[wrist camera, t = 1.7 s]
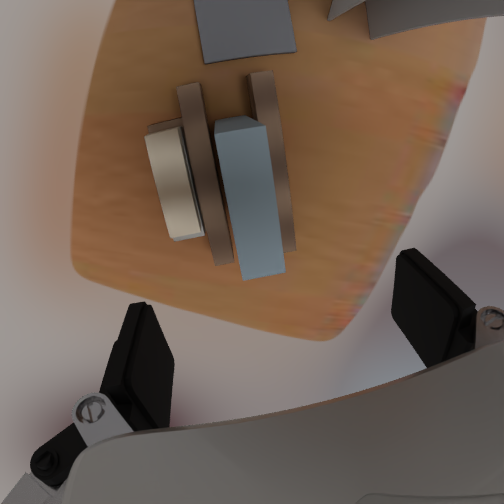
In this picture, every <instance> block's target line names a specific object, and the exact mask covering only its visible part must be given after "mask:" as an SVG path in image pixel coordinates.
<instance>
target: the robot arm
mask: <svg viewBox="0 0 504 504" xmlns="http://www.w3.org/2000/svg"><path fill="white" fill-rule="evenodd" d="M475 306H476V304H475V303H474V302H473V301H472V300H471V299H470V298H469V297H468V296H467V295H466V294H465V293H464V292H463V291H462V290H461V289H460V288H459V287H458V286H457V285H455V284H454V283H453V282H452V281H451V280H450V279H449V278H448V277H447V276H446V275H445V274H444V273H443V272H442V271H440V270H439V269H438V268H437V267H436V266H435V265H434V264H433V263H432V262H430V261H429V260H428V259H427V258H426V257H425V256H424V255H423V254H421V253H420V252H419V251H418V250H417V249H415V248H412V249H407V250H402V251H401V252H400V254H399V255H398V256H397V258H396V269H395V281H394V290H393V299H392V308H391V314H392V317H393V319H394V321H395V322H396V323H397V325H398V326H399V328H400V329H401V331H402V332H403V333H404V335H405V336H406V338H407V339H408V340H409V342H410V344H411V345H412V346H413V348H414V349H415V351H416V352H417V354H418V355H419V357H420V358H421V360H422V361H423V363H424V364H425V366H426V367H427V368H426V369H424V370H421V371H419V372H416V373H413V374H410V375H408V376H405V377H402V378H399V379H396V380H394V381H391V382H388V383H385V384H382V385H378V386H375V387H372V388H369V389H366V390H363V391H359V392H356V393H352V394H349V395H345V396H342V397H338V398H334V399H331V400H327V401H323V402H319V403H315V404H311V405H306V406H302V407H298V408H294V409H289V410H284V411H279V412H274V413H269V414H264V415H258V416H253V417H247V418H241V419H234V420H227V421H220V422H212V423H205V424H197V425H188V426H179V427H169V424H170V409H171V397H172V386H173V374H174V358H173V355H172V353H171V350H170V348H169V346H168V344H167V341H166V339H165V337H164V334H163V332H162V330H161V327H160V325H159V322H158V320H157V318H156V315H155V313H154V310H153V308H152V306H151V305H147V304H146V303H145V302H139V303H132V304H130V305H129V307H128V310H127V313H126V316H125V319H124V322H123V325H122V328H121V331H120V334H119V337H118V340H117V341H116V342H115V343H114V345H113V348H112V352H111V354H110V358H109V361H108V364H107V367H106V370H105V374H104V377H103V381H102V384H101V387H100V391H99V393H90V394H87V395H85V396H83V397H82V398H80V399H79V400H78V401H77V403H76V404H75V405H74V408H73V410H72V418H73V421H74V423H72V424H71V425H70V426H68V427H67V428H66V429H64V430H63V431H62V432H60V433H59V434H57V435H56V436H55V437H53V438H52V439H50V440H49V441H48V442H47V443H45V444H44V445H42V446H41V447H39V448H38V449H37V450H36V451H35V452H34V454H33V456H32V458H31V462H30V468H31V473H30V474H27V473H25V474H24V475H23V477H22V478H21V479H20V480H19V482H18V483H17V484H16V485H15V487H14V488H13V489H12V490H11V492H10V493H9V494H8V496H7V497H6V498H5V499H4V501H3V502H2V503H1V504H504V310H502V309H500V308H497V307H492V306H487V307H483V308H481V309H480V310H479V311H477V310H476V309H475Z"/></svg>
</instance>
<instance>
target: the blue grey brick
mask: <svg viewBox="0 0 504 504" xmlns="http://www.w3.org/2000/svg"><path fill="white" fill-rule="evenodd" d="M214 136H215V141H216V146H217V152H218V157H219V162H220V167H221V173H222V178H223V183H224V188H225V193H226V198H227V203H228V208H229V214H230V219H231V224H232V229H233V234H234V239H235V244H236V249H237V254H238V259H239V263H240V268H241V273H242V278H243V280H249V279H254V278H259V277H264V276H269V275H275V274H280V273H285V272H286V271H285V263H284V255H283V247H282V239H281V231H280V223H279V216H278V208H277V201H276V193H275V186H274V179H273V172H272V165H271V158H270V151H269V145H268V138H267V131H266V125H264V124H262V123H260V122H258V121H256V120H254V119H252V118H250V117H248V116H246V115H242V116H236V117H231V118H225V119H220V120H215V131H214Z"/></svg>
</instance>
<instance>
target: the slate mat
mask: <svg viewBox="0 0 504 504" xmlns="http://www.w3.org/2000/svg"><path fill="white" fill-rule="evenodd" d="M194 5H195V10H196V16H197V22H198V28H199V33H200V39H201V45H202V51H203V56H204V62H205V64H210V63H216V62H222V61H228V60H234V59H241V58H248V57H256V56H264V55H274V54H285V53H295V52H297V49H296V43H295V38H294V32H293V27H292V21H291V16H290V11H289V6H288V1H287V0H194Z"/></svg>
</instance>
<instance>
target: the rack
mask: <svg viewBox="0 0 504 504" xmlns="http://www.w3.org/2000/svg"><path fill="white" fill-rule="evenodd" d="M246 79H247V85H248V91H249V97H250V103H251V109H252V115H253V119H254V120H256V121H258V122H260V123H262V124H264V125H266V131H267V138H268V145H269V151H270V158H271V165H272V172H273V179H274V186H275V193H276V201H277V208H278V216H279V223H280V231H281V239H282V247H283V253H286V252H291V251H296V241H295V232H294V223H293V214H292V205H291V196H290V188H289V180H288V172H287V164H286V156H285V149H284V142H283V134H282V127H281V120H280V114H279V107H278V100H277V94H276V87H275V81H274V75H273V70H271V71H263V72H255V73H250V74H249V75H247V76H246ZM176 89H177V94H178V99H179V104H180V110H181V115H182V120H183V125H184V130H185V134H186V139H187V144H188V149H189V154H190V158H191V163H192V168H193V172H194V177H195V181H196V186H197V191H198V195H199V199H200V204H201V208H202V213H203V217H204V221H205V226H206V230H207V234H208V238H209V242H210V247H211V251H212V255H213V259H214V263H215V266H217V265H223V264H228V263H233V262H234V255H233V247H232V241H231V236H230V232H229V227H228V222H227V217H226V212H225V207H224V202H223V197H222V192H221V187H220V182H219V177H218V172H217V167H216V161H215V156H214V151H213V146H212V141H211V135H210V130H209V125H208V120H207V114H206V109H205V104H204V98H203V93H202V87H201V84H200V83H199V82H196V83H191V84H187V85H182V86H178V87H176Z"/></svg>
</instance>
